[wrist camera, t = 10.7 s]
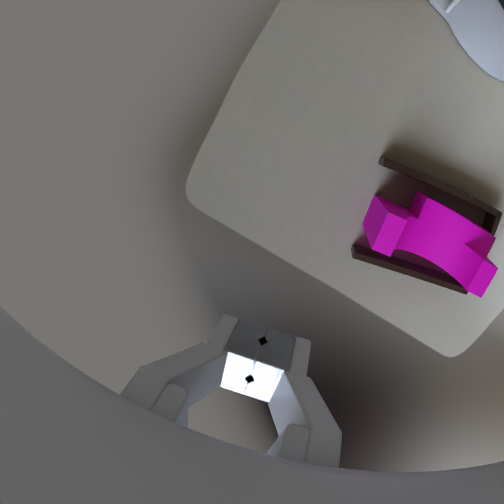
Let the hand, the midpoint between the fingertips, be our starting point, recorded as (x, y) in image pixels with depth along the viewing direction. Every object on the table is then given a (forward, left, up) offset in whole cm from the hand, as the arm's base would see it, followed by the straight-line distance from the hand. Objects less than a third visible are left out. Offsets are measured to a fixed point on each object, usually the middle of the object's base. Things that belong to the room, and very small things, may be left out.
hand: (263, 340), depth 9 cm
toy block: (-1, +15, -25) cm, 29 cm away
